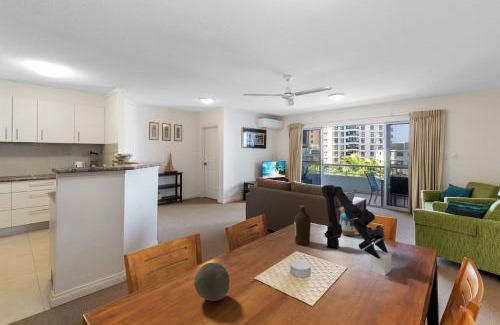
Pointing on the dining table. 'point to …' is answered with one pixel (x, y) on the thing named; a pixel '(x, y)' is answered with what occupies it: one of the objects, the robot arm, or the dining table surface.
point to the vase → (346, 225)
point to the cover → (381, 263)
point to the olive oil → (302, 227)
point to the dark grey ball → (212, 281)
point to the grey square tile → (399, 261)
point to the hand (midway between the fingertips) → (383, 256)
